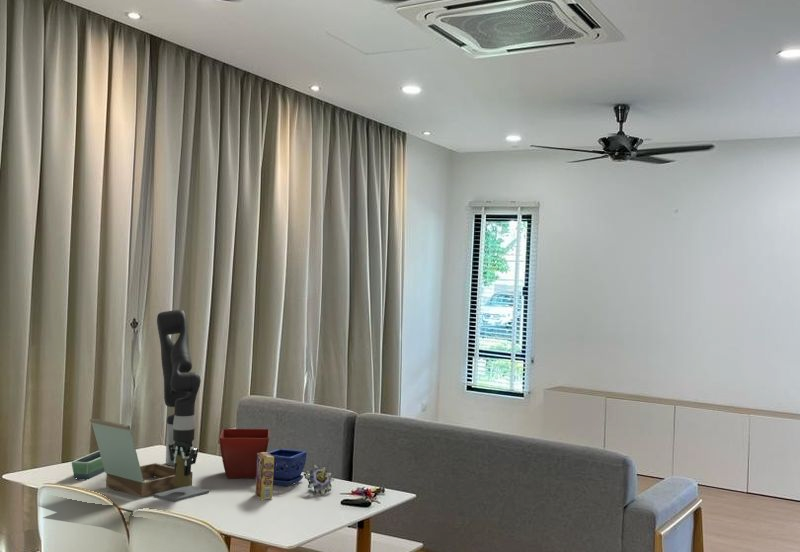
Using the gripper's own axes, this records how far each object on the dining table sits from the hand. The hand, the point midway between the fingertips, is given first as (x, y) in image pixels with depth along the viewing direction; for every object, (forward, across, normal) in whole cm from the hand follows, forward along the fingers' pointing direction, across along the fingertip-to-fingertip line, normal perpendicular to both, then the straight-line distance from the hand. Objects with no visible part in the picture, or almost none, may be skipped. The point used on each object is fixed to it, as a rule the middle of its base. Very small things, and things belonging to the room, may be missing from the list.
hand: (182, 474), depth 278 cm
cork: (+4, 0, 0) cm, 4 cm away
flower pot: (+8, -17, -36) cm, 40 cm away
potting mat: (+7, 0, 0) cm, 7 cm away
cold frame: (+7, +18, 0) cm, 20 cm away
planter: (+8, +52, 0) cm, 52 cm away
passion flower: (+8, -35, -35) cm, 50 cm away
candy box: (+8, -25, -17) cm, 31 cm away
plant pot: (+8, +4, -35) cm, 36 cm away
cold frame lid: (-9, +18, +14) cm, 25 cm away
